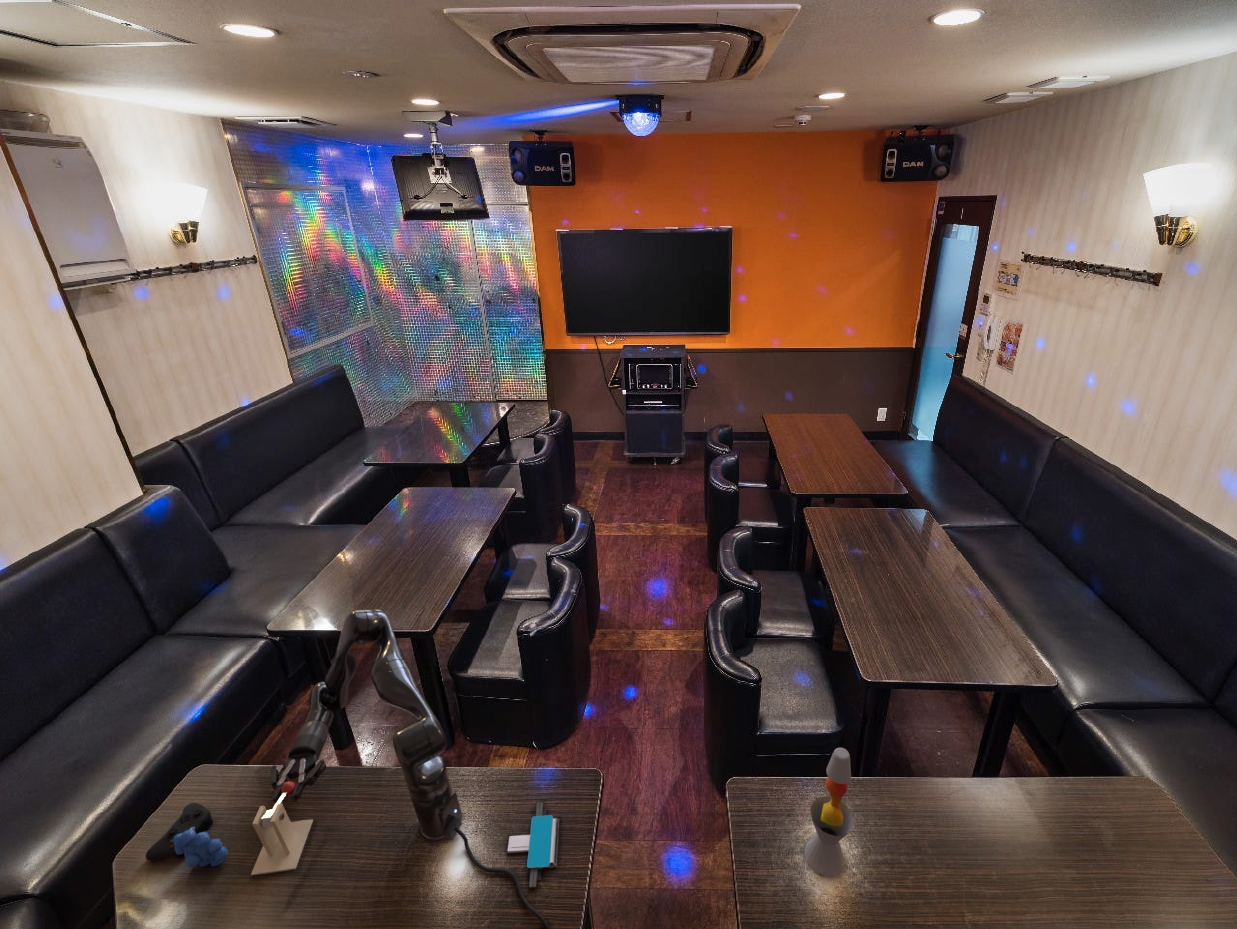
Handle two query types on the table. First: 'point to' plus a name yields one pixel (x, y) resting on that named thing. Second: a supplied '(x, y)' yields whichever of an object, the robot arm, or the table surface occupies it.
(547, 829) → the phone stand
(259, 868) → the switch bracket
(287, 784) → the power lever
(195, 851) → the grapes
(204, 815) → the gaming controller
